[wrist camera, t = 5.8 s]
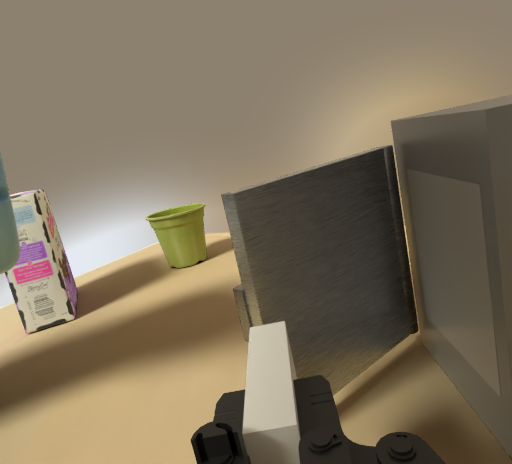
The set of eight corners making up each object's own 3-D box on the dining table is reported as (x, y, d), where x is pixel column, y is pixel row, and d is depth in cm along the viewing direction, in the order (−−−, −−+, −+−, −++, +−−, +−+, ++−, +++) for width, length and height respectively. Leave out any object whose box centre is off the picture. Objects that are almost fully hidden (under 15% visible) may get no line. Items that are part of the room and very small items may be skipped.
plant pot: (163, 261, 73) (150, 212, 71) (217, 248, 73) (206, 199, 71) (155, 277, 64) (140, 222, 62) (216, 263, 64) (203, 207, 62)
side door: (397, 321, 32) (371, 147, 29) (422, 327, 30) (396, 144, 27) (263, 420, 24) (210, 195, 21) (287, 434, 22) (233, 194, 20)
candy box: (76, 320, 52) (34, 189, 49) (25, 336, 51) (-23, 202, 47) (79, 291, 65) (45, 186, 62) (38, 303, 63) (1, 196, 60)
